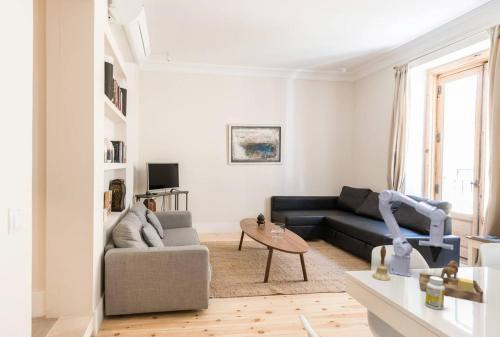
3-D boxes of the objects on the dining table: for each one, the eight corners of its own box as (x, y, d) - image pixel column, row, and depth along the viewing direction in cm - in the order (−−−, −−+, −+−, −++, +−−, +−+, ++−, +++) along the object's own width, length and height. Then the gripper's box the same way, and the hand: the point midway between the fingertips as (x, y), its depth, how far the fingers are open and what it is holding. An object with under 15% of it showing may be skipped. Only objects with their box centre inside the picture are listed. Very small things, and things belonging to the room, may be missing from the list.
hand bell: (393, 281, 158) (395, 248, 158) (375, 280, 158) (378, 247, 158) (386, 275, 166) (388, 244, 166) (370, 274, 167) (372, 243, 166)
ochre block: (459, 289, 147) (460, 280, 146) (457, 286, 151) (458, 277, 151) (472, 292, 144) (473, 283, 144) (470, 288, 149) (471, 280, 149)
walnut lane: (420, 290, 148) (421, 280, 148) (419, 279, 163) (419, 270, 162) (482, 302, 138) (483, 292, 138) (474, 290, 153) (475, 280, 153)
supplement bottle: (431, 309, 128) (433, 280, 128) (421, 302, 135) (423, 275, 134) (447, 309, 129) (449, 281, 129) (436, 302, 135) (438, 275, 135)
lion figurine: (447, 275, 172) (449, 258, 172) (459, 279, 168) (460, 261, 168) (437, 281, 162) (439, 263, 162) (449, 285, 158) (451, 266, 158)
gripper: (420, 233, 160) (418, 261, 160) (455, 238, 154) (452, 266, 154) (419, 230, 166) (417, 257, 166) (453, 235, 160) (450, 262, 160)
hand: (434, 261), depth 161 cm, fingers closed
